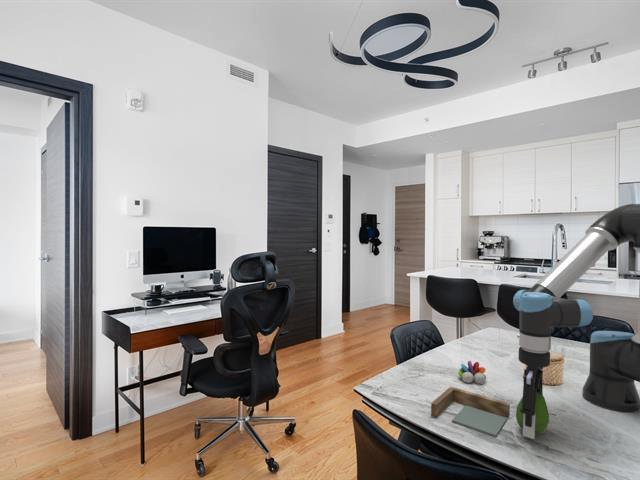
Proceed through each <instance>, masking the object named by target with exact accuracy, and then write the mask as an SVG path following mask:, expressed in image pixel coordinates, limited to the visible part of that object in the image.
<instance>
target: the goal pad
mask: <svg viewBox="0 0 640 480" xmlns="http://www.w3.org/2000/svg"><path fill="white" fill-rule="evenodd" d="M507 421H508V418H505V417H502V416H499V415H496V414H492V413H489V412H486V411H483V410H479V409H476V408H473V407H470V406H466V405H464V406H463V407H462V409H461V410H460V411H458V413H457V414H456V415H455V416H454V417H453V419H452V420H451V423H452V424H455V425H456V424H457V425H459V426H463V427H465V428H468V429H471V430H473V431H477V432H480V433H483V434H484V435H485V434H486V435H488V436H491V437H494V438H497V437H498V435H499V433H500V432H501V430H502V429H503V428H504V425H505V424H506V423H507Z"/></svg>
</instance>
